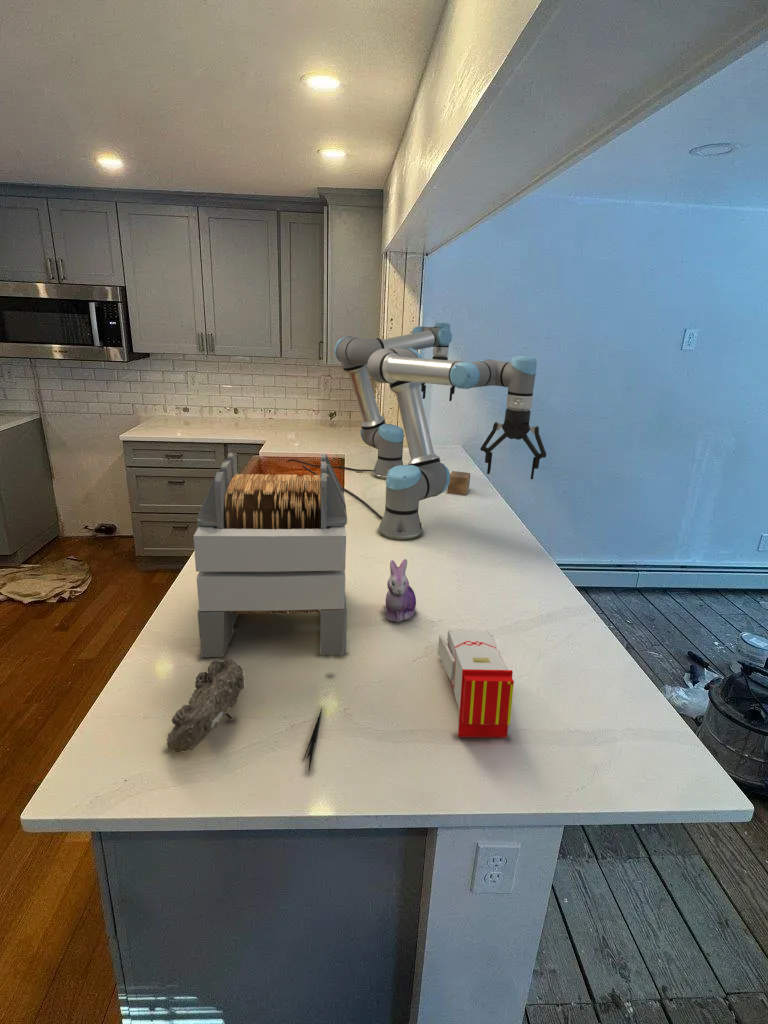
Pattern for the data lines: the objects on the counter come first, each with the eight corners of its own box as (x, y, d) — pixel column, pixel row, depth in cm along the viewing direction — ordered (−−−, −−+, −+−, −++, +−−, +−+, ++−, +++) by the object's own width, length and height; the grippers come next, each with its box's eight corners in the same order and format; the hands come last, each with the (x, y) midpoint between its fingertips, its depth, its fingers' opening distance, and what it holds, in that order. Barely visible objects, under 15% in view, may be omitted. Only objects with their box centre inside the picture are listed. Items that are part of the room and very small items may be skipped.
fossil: (192, 660, 117) (244, 628, 112) (224, 691, 120) (276, 661, 115) (142, 746, 98) (202, 712, 93) (182, 779, 101) (242, 748, 96)
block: (447, 493, 247) (448, 476, 244) (451, 487, 255) (452, 470, 253) (465, 495, 245) (467, 478, 242) (468, 489, 253) (470, 473, 250)
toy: (488, 613, 130) (523, 677, 101) (484, 667, 133) (517, 744, 104) (435, 612, 130) (455, 676, 101) (432, 666, 133) (451, 743, 103)
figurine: (392, 627, 141) (395, 572, 136) (374, 608, 149) (376, 556, 144) (425, 619, 145) (429, 566, 140) (405, 601, 154) (408, 550, 149)
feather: (331, 679, 122) (336, 673, 122) (307, 777, 96) (313, 769, 95) (324, 675, 122) (329, 669, 121) (298, 772, 95) (304, 764, 95)
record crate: (222, 587, 156) (213, 443, 143) (341, 586, 160) (343, 445, 146) (198, 659, 125) (184, 483, 111) (346, 655, 129) (350, 484, 115)
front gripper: (475, 406, 173) (469, 473, 180) (560, 414, 167) (550, 483, 174) (479, 403, 180) (472, 468, 187) (560, 410, 173) (550, 477, 181)
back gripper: (413, 354, 277) (411, 398, 284) (464, 358, 271) (460, 402, 278) (417, 353, 284) (414, 396, 291) (466, 357, 278) (462, 400, 285)
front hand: (510, 475), depth 181 cm, fingers open, 13 cm apart
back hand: (437, 399), depth 285 cm, fingers open, 13 cm apart
